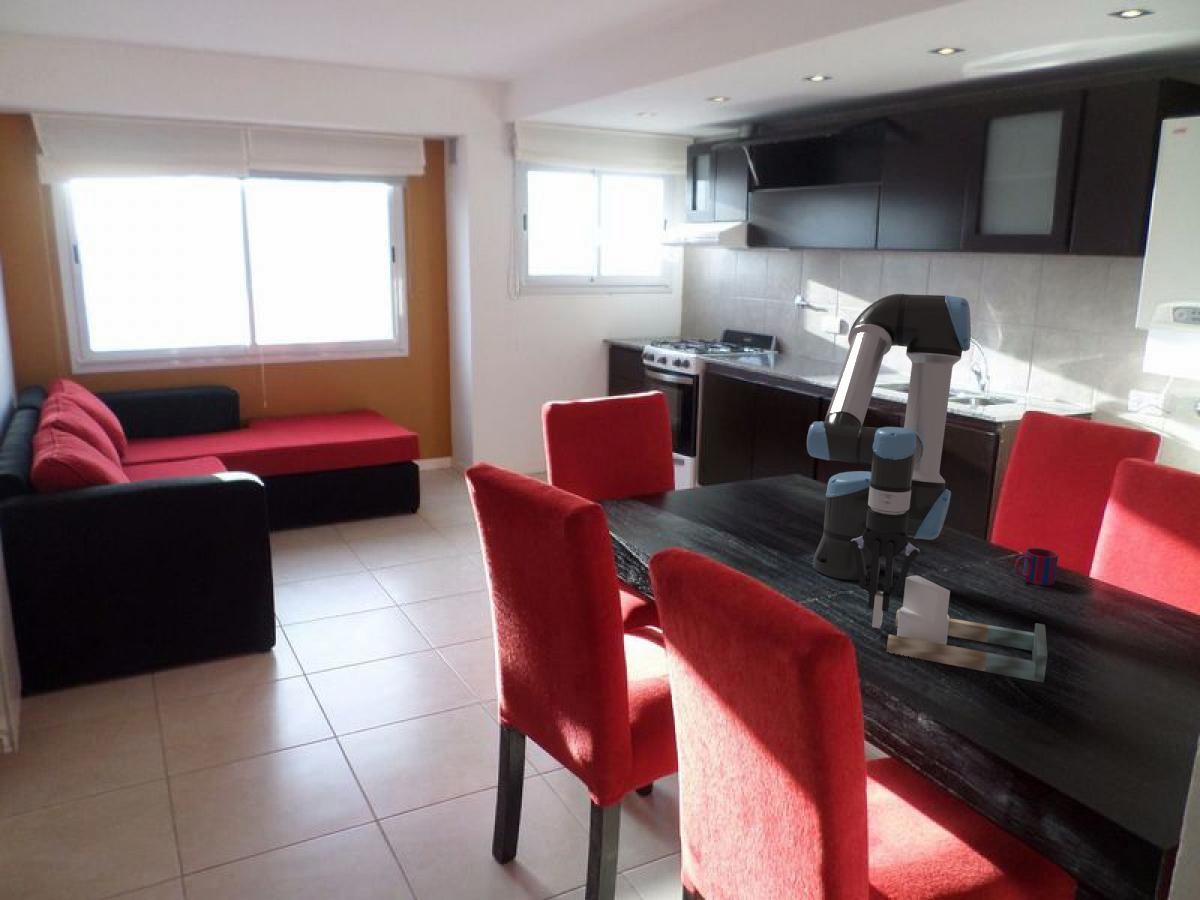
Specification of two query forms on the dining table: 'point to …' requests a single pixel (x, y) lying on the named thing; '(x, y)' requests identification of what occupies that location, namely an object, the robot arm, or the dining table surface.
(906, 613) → the cylinder with rectangular tab
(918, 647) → the bay
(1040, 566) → the mug
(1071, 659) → the dining table surface
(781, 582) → the dining table surface
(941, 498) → the robot arm
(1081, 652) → the dining table surface
